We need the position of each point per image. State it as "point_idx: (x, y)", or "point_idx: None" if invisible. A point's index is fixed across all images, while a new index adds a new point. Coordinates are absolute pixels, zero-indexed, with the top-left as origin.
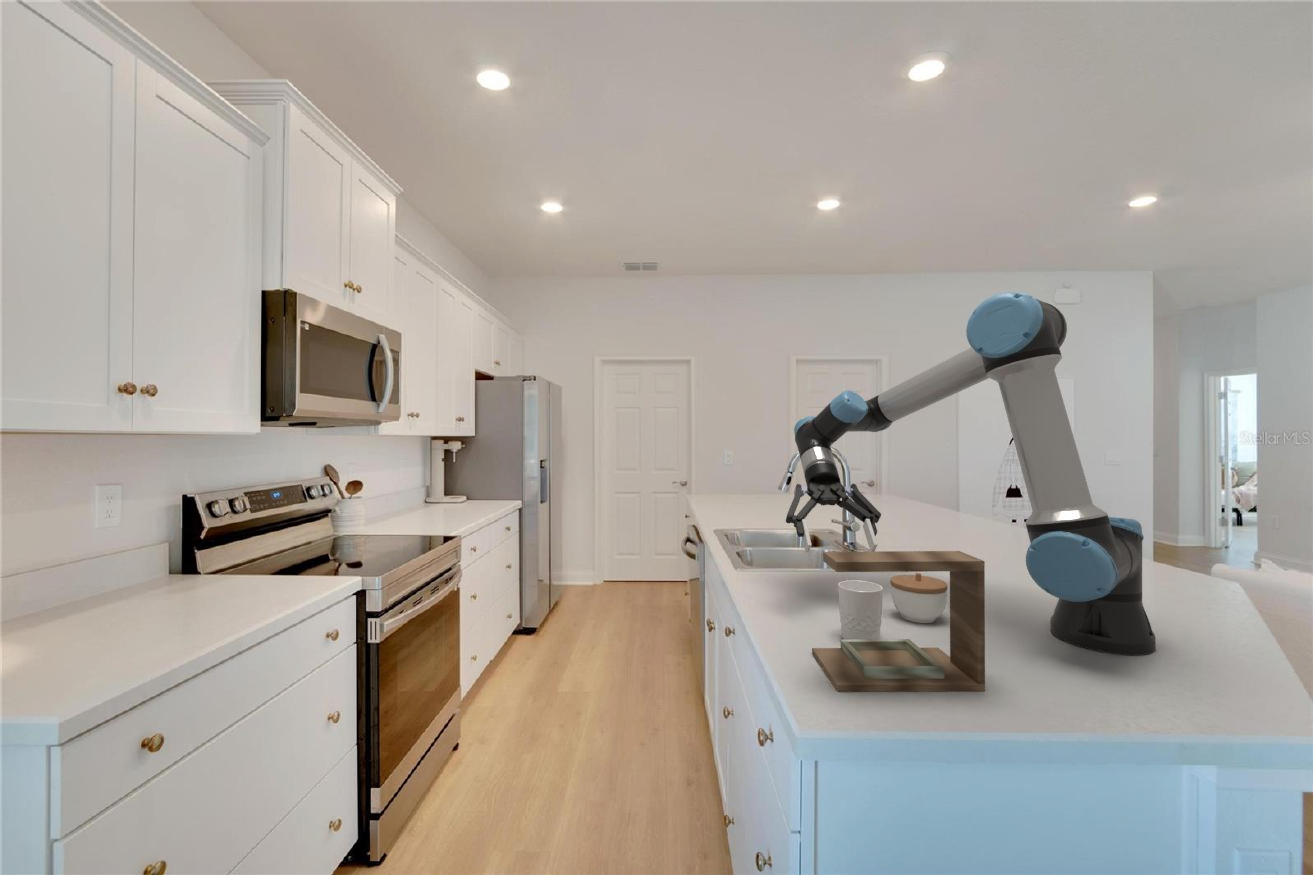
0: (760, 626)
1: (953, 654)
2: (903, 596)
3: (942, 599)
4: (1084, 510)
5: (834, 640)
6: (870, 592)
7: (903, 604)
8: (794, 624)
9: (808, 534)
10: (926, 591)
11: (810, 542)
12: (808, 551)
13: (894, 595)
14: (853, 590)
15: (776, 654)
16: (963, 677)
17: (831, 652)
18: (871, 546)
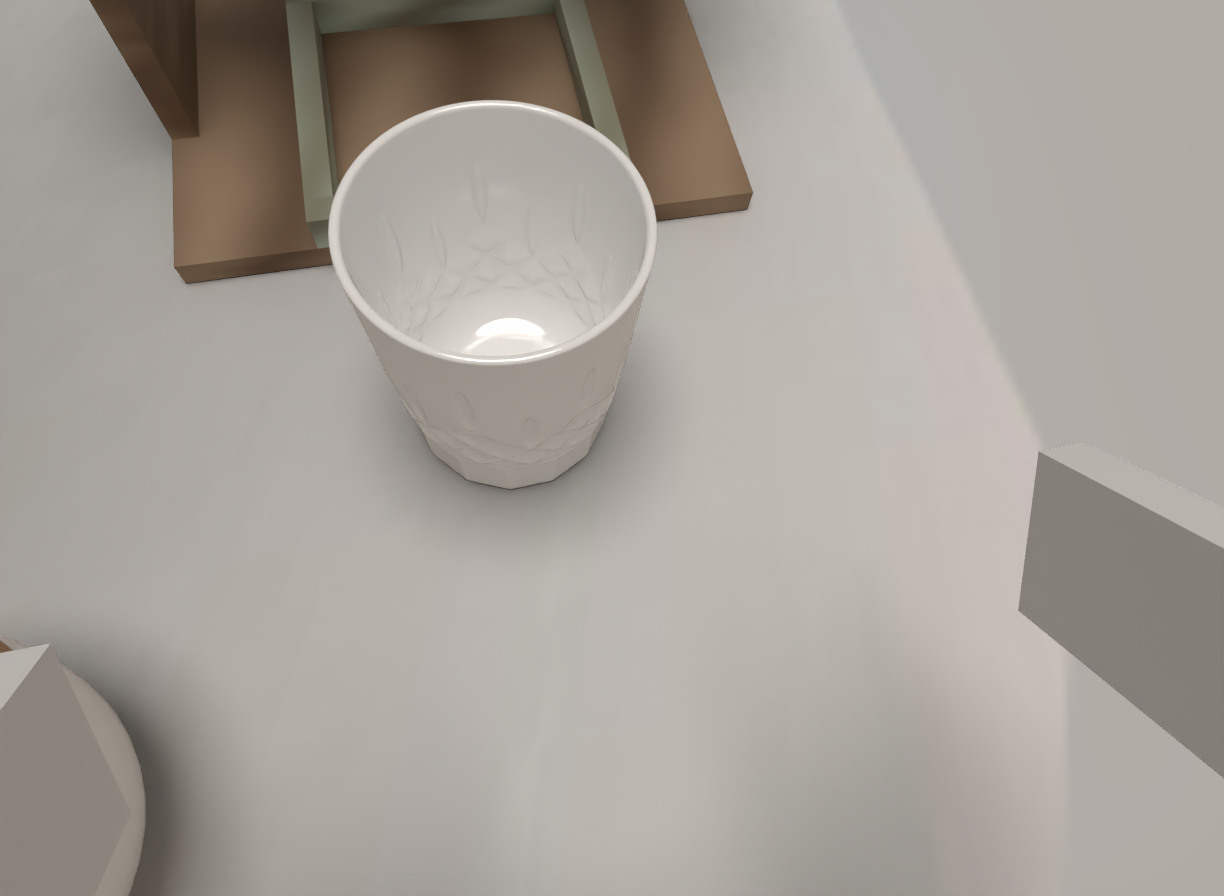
0: (1024, 486)
1: (180, 80)
2: None
3: None
4: None
5: (645, 360)
6: (454, 104)
7: (103, 704)
8: (854, 551)
9: (1215, 540)
10: None
11: (1078, 469)
12: (1031, 594)
13: (117, 783)
14: (565, 114)
15: (884, 189)
16: (219, 29)
17: (674, 163)
18: (78, 782)
